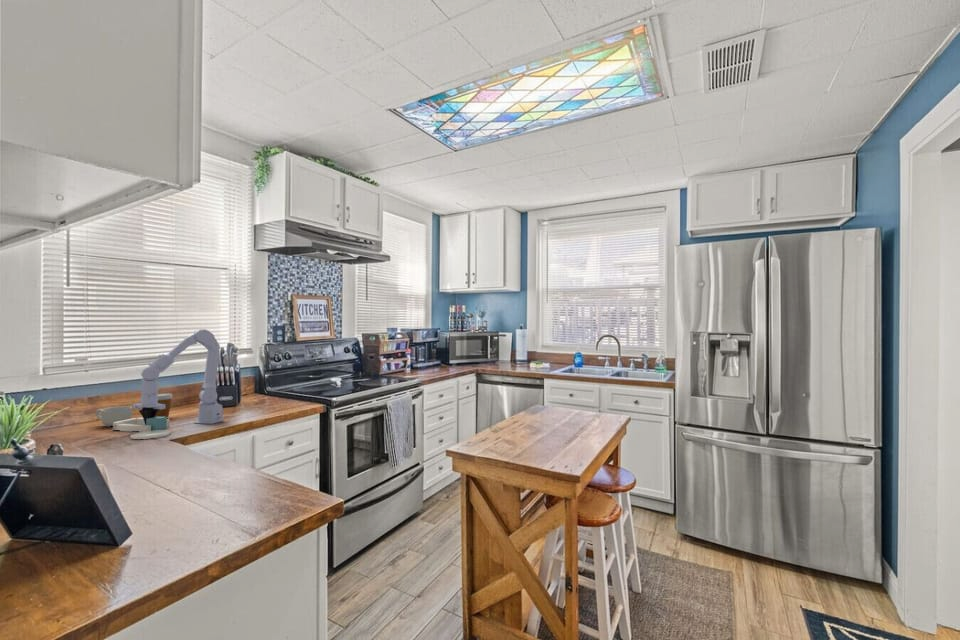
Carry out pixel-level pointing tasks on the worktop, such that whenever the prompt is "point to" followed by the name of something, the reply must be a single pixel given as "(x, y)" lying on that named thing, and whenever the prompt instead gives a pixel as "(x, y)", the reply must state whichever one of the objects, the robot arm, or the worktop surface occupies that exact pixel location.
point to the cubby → (134, 425)
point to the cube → (157, 423)
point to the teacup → (114, 414)
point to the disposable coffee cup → (167, 401)
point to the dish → (151, 434)
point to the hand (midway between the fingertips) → (148, 425)
